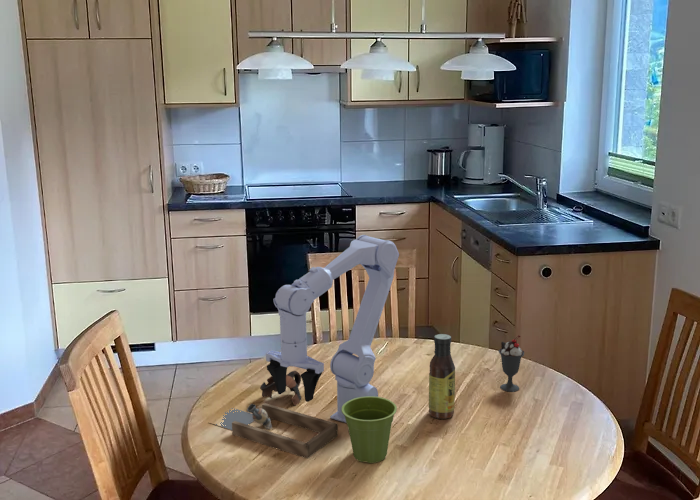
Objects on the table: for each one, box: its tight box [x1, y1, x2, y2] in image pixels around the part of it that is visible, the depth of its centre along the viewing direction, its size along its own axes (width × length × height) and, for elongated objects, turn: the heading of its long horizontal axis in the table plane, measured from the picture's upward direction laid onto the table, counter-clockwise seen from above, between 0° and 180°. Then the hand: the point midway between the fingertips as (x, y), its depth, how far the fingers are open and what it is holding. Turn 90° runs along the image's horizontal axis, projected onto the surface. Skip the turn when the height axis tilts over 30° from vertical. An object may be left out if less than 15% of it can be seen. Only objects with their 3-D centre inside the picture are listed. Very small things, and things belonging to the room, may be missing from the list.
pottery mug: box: [259, 370, 302, 406], centre depth 186 cm, size 12×10×8 cm
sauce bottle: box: [428, 333, 456, 420], centre depth 174 cm, size 7×6×20 cm
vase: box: [246, 403, 273, 431], centre depth 171 cm, size 5×5×6 cm
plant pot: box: [341, 396, 398, 464], centre depth 157 cm, size 12×12×11 cm
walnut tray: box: [231, 402, 339, 459], centre depth 167 cm, size 21×12×3 cm, turn 58°
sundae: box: [497, 334, 525, 393], centre depth 189 cm, size 7×7×15 cm
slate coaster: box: [215, 407, 255, 431], centre depth 175 cm, size 9×9×1 cm
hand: (295, 396), depth 163 cm, fingers open, 7 cm apart
